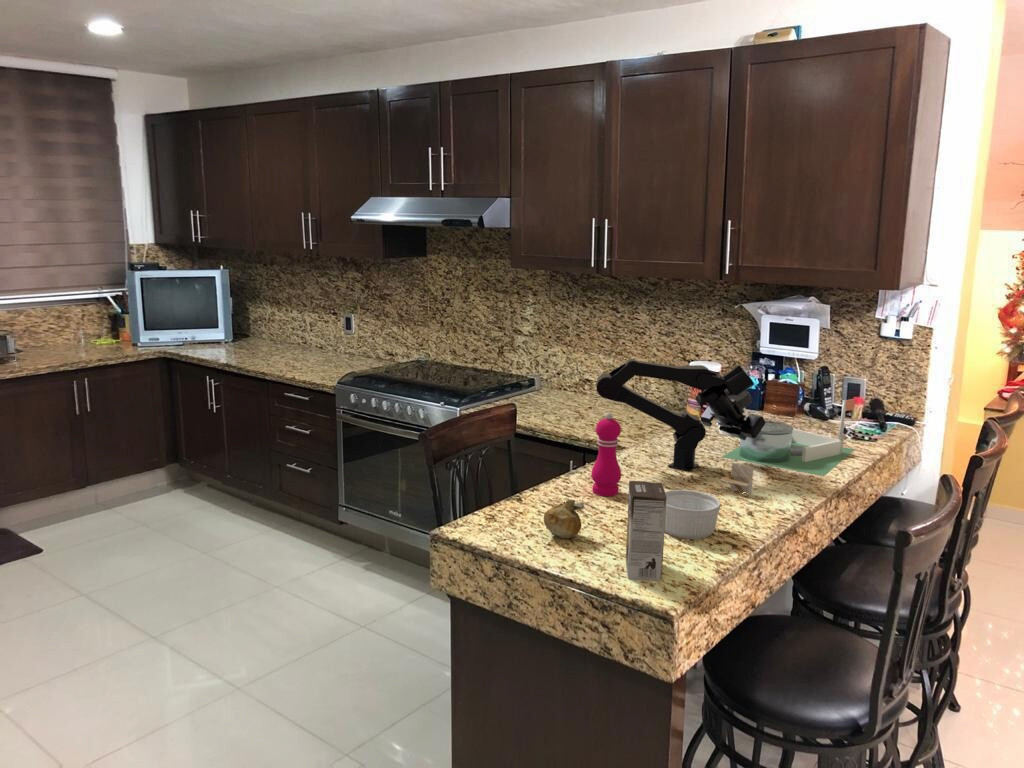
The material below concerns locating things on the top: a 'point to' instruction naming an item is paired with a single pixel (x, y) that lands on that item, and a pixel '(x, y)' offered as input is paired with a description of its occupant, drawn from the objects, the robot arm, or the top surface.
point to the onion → (564, 519)
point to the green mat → (800, 461)
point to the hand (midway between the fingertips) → (744, 438)
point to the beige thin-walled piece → (820, 440)
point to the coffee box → (645, 530)
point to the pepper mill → (606, 458)
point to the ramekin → (690, 514)
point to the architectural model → (740, 478)
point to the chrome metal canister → (769, 444)
